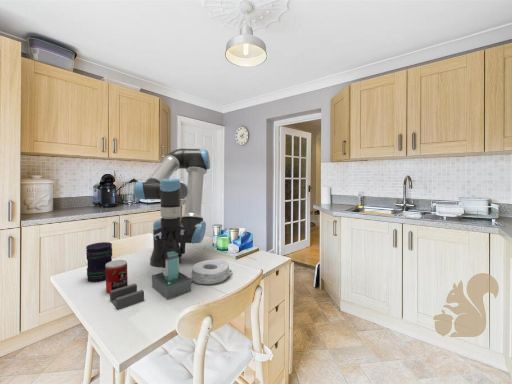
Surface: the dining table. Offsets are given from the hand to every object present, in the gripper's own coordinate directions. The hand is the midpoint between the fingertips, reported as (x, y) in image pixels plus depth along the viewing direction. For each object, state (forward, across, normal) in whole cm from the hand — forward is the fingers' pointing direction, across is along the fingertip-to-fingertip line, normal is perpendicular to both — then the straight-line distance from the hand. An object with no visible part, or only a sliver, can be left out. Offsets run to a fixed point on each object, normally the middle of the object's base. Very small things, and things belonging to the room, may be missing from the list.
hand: (171, 273), depth 99 cm
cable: (+7, +19, -1) cm, 20 cm away
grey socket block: (+7, 0, 0) cm, 7 cm away
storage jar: (+7, -18, +32) cm, 37 cm away
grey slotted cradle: (+7, -16, +3) cm, 18 cm away
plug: (+4, 0, 0) cm, 4 cm away
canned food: (+7, -16, +15) cm, 23 cm away
